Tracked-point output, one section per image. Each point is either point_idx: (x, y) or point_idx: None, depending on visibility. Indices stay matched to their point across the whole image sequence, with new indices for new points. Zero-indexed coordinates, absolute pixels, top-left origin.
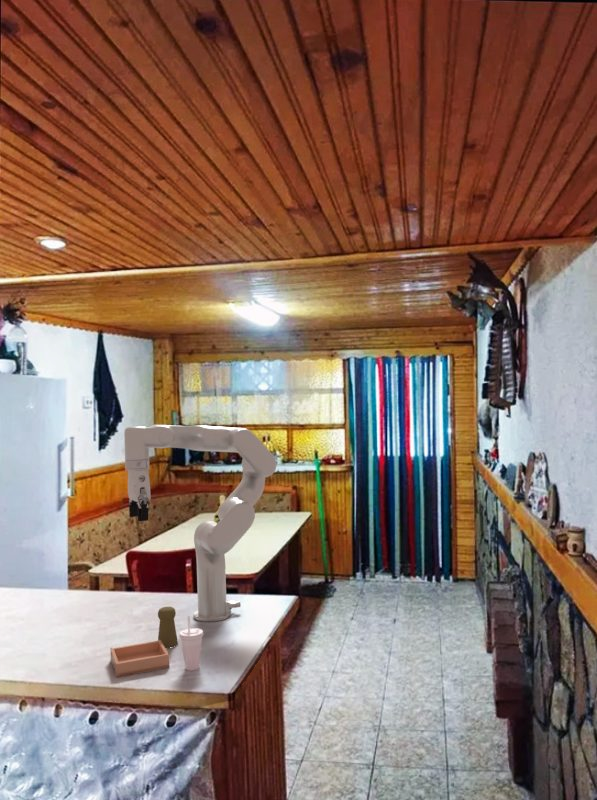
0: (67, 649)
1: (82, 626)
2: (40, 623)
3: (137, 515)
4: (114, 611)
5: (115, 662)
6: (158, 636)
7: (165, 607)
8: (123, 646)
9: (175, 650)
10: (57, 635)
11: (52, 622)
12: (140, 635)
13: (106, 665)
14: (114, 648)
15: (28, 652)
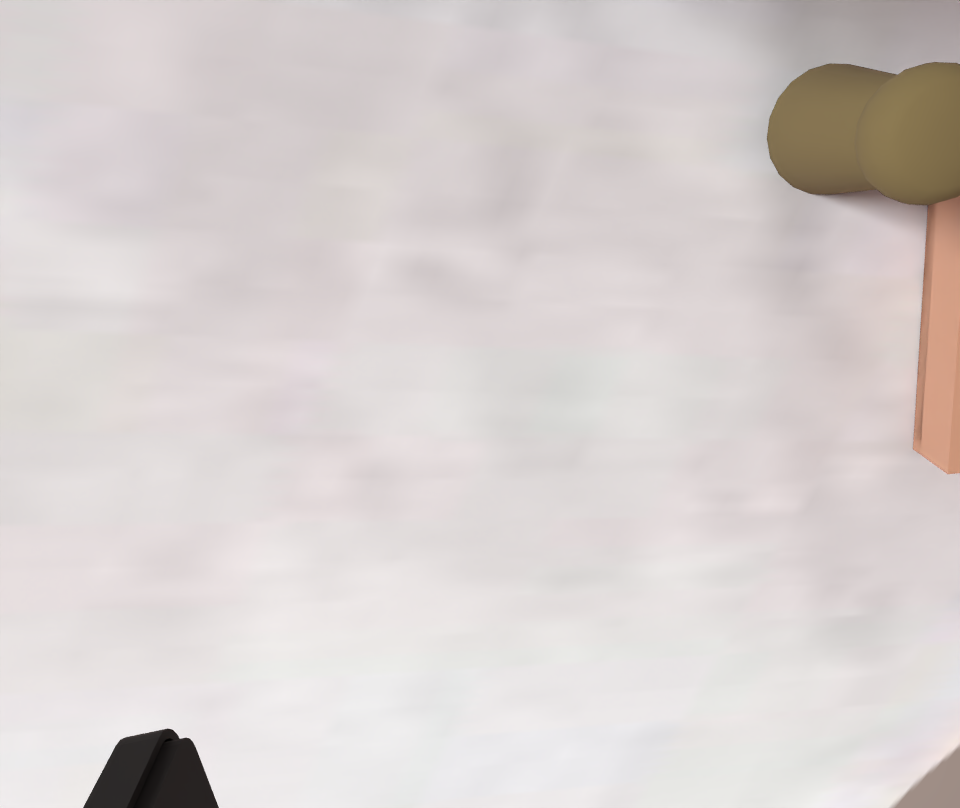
0: (639, 646)
1: (294, 592)
2: None
3: (200, 781)
4: (49, 418)
5: None
6: (851, 191)
7: (940, 144)
8: (952, 407)
9: None
10: (401, 702)
11: None
12: (591, 280)
13: None
14: (956, 454)
15: (597, 799)
